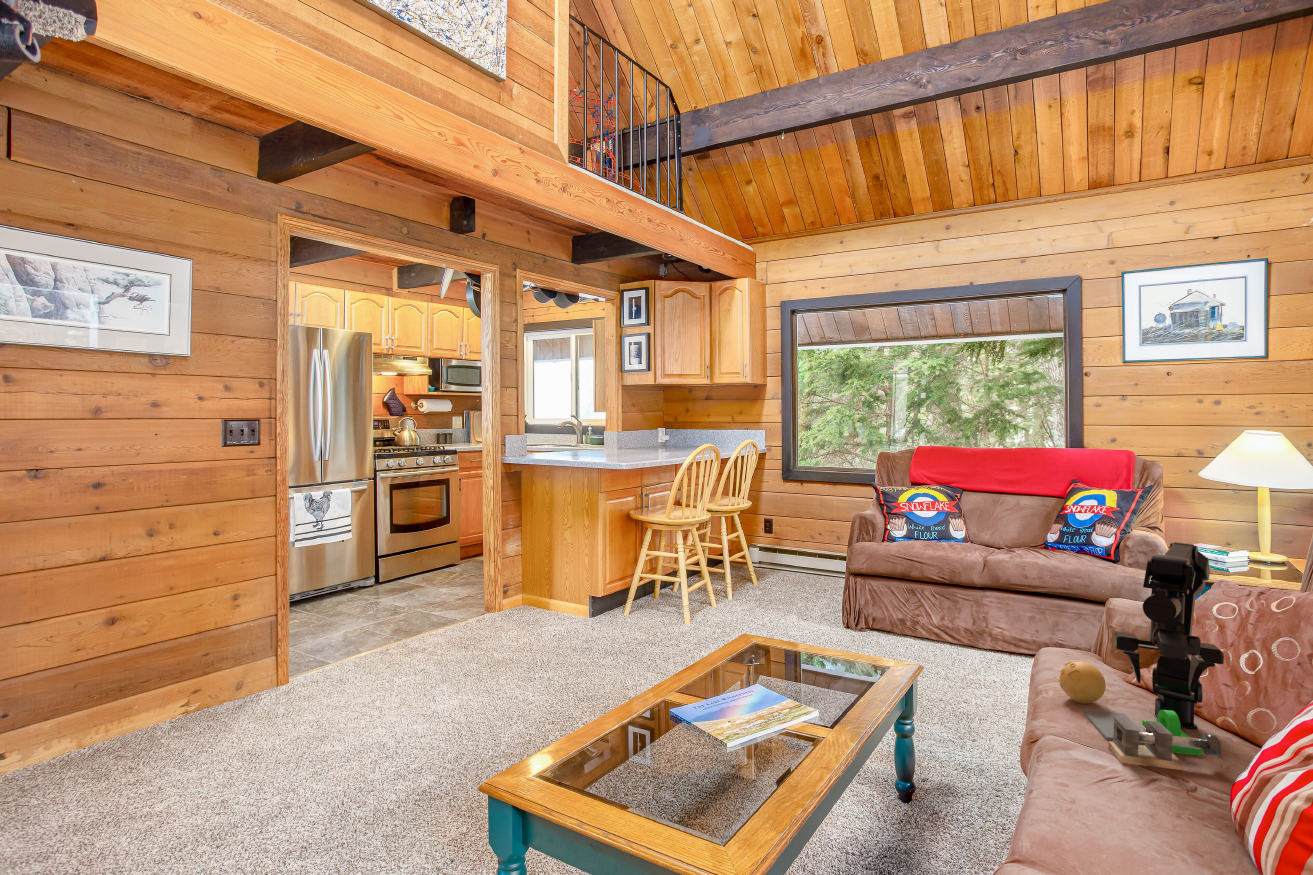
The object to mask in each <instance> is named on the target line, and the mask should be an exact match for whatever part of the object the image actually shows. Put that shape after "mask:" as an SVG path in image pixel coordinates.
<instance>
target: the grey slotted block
mask: <svg viewBox="0 0 1313 875" xmlns="http://www.w3.org/2000/svg"><path fill="white" fill-rule="evenodd" d="M1145 720H1146V730H1145V733H1154V734H1155V744H1152V743H1145V744H1143V745H1142V744H1140V743H1139V730H1138V729H1137V728H1136V727H1135V726H1134V725H1133V724H1132V723H1131V722H1130V721H1129V720H1128V719H1127V718H1119V717H1114V732H1113V740H1108V750H1109V751H1110V752H1111V753H1112V755H1113V756H1115V758H1116V759H1117V760H1118V761H1119V763H1120V764H1121V763H1122V764H1129V765H1136V766H1137V765H1138V766H1144V767H1145V766H1146V767H1153V768H1160V769H1162V768H1163V769H1169V770H1170V769H1171V770H1178V771H1183V762H1182V760H1180V759H1179V758H1178V757H1177V756H1176V755H1175V753H1173V752H1172V743H1173V734H1172V733H1171V732H1169V731H1168V730H1167V729H1166V728H1165V727H1164V726H1163V725H1162V724H1161V723H1160V722H1156V721H1157V720H1153V721H1147V720H1148V719H1145Z"/></svg>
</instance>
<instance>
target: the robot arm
mask: <svg viewBox="0 0 1313 875" xmlns="http://www.w3.org/2000/svg"><path fill="white" fill-rule="evenodd" d="M1198 548H1199V547H1198V545H1195V543H1184V542H1178V541H1177V542H1176V541H1175V542H1171V543H1169V548H1168V550H1167V551H1166V552H1165V553H1164V554H1154V555H1152V556H1151V559H1148V560H1147V563H1146V568H1145V574H1144V579H1143V584H1142V585H1143V586H1142V587H1143V588H1146V589H1151V593H1150V595H1149V596H1148V597H1147V598H1146V599H1144V601H1143V603H1142V612H1143V613H1144V614H1145V616H1146V617H1147V618H1148V619H1149V620H1150V628H1149V629H1150V633H1149V639H1143V638H1139V637H1138V636H1136V634H1135V633H1133V632H1125V631H1124V632H1123V631H1117V630H1116V631H1114V633H1113V634H1112V644H1113V645H1114V647H1115V649H1116V650H1119V651H1121V652H1122V654H1123V655H1127V657H1128V659H1129V662H1130V664H1131V667H1132V671H1133V673H1134V677H1135V679H1136V681H1137V683H1139V684H1140V683H1141V680H1142V679H1141V676H1142V675H1141V666H1140V665H1141V664H1140V656H1141V655H1140V652H1138V650H1139V649H1141V648H1142V649H1148V650H1153V651H1158V654H1159V655H1160V656H1159V657H1157V658H1158V659H1157V662H1156V667H1153V670H1152V676H1151V679H1152V680H1151V682H1152V694H1156V695H1157V697H1156V698H1155V700H1154V701H1155V702H1154V712H1155V715H1156V716H1157V715H1158V712H1159V711H1160V710H1170V711H1174V712H1175V713H1176V714H1177V716H1178V718H1179V720H1180V724H1181V728H1185V727H1186V728H1187V729H1195V730H1196V729H1197V730H1198V727H1199V726H1198V725H1196V724H1195V706H1196V705H1197V704H1199V703H1203V698H1204V694H1203V684H1202V683H1201V681H1200V678H1201V676H1202V675H1203V673H1204V672H1205V671H1206V670H1207V669H1208V668H1215V667H1216V665H1224V664H1225V663H1224V662H1225V658H1224V657H1225V656H1224V651H1222V650H1221V649H1220V648H1218V646H1216V644H1214V643H1213V644H1212V643H1206V642H1201V638H1200V636H1196V635H1192V634H1193V625H1194V615H1195V605H1196V598H1197V597H1198V595H1199V594H1200V593H1202V592H1203V591H1204V590H1205V588H1206V582H1207V581H1208V582H1209V581H1210V575H1211V574H1210V572H1211V570H1210V569H1211V568H1210V562H1209V558H1208V557H1207V556H1206V555H1204V554H1203V553H1201V551H1199V549H1198ZM1190 656H1191V657H1190ZM1155 715H1154V716H1155ZM1156 716H1155V717H1156Z"/></svg>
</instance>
